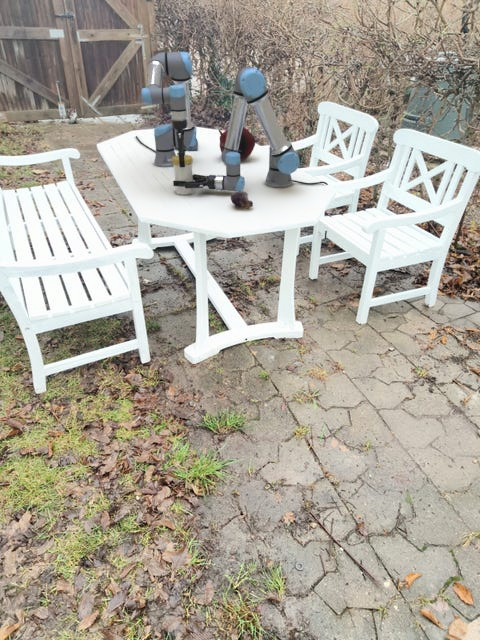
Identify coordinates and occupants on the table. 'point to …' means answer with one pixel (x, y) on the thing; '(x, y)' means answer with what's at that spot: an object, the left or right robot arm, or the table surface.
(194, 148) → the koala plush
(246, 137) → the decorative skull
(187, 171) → the jar
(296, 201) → the table surface
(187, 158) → the lid
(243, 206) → the rock
